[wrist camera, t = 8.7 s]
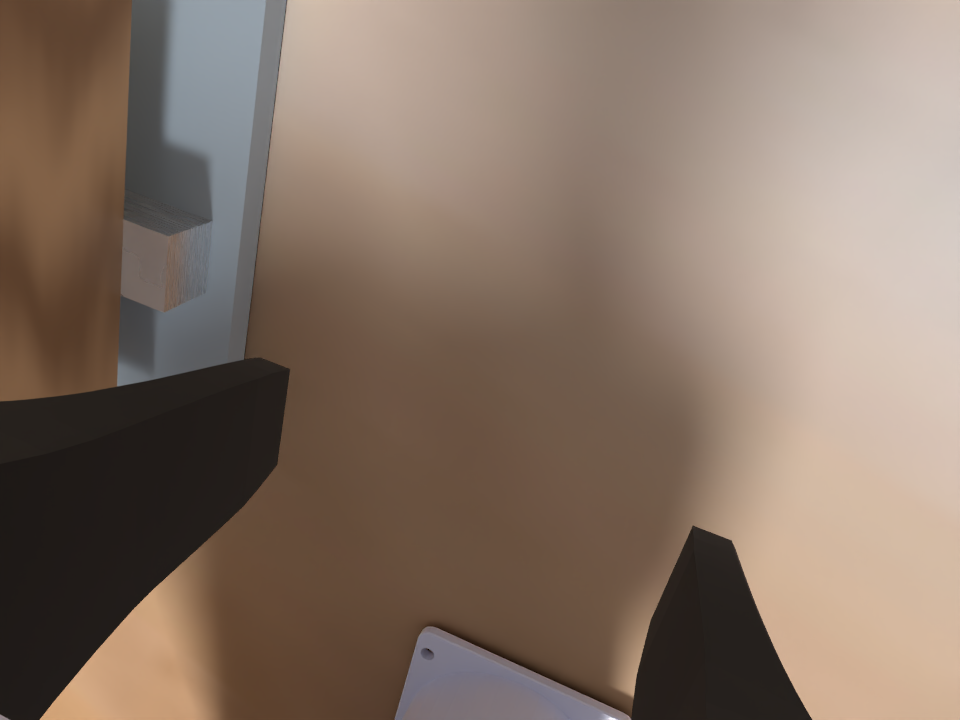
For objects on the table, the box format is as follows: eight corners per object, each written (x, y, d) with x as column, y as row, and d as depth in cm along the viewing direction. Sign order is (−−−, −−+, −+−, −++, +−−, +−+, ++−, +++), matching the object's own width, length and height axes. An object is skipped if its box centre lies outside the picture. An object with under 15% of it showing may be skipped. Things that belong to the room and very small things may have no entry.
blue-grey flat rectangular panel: (231, 462, 29) (214, 475, 28) (30, 374, 30) (8, 384, 29) (287, -11, 21) (267, -12, 21) (20, -91, 23) (-10, -96, 22)
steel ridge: (206, 292, 25) (163, 312, 23) (26, 222, 26) (-27, 236, 24) (212, 220, 24) (168, 236, 22) (24, 151, 25) (-31, 160, 23)
